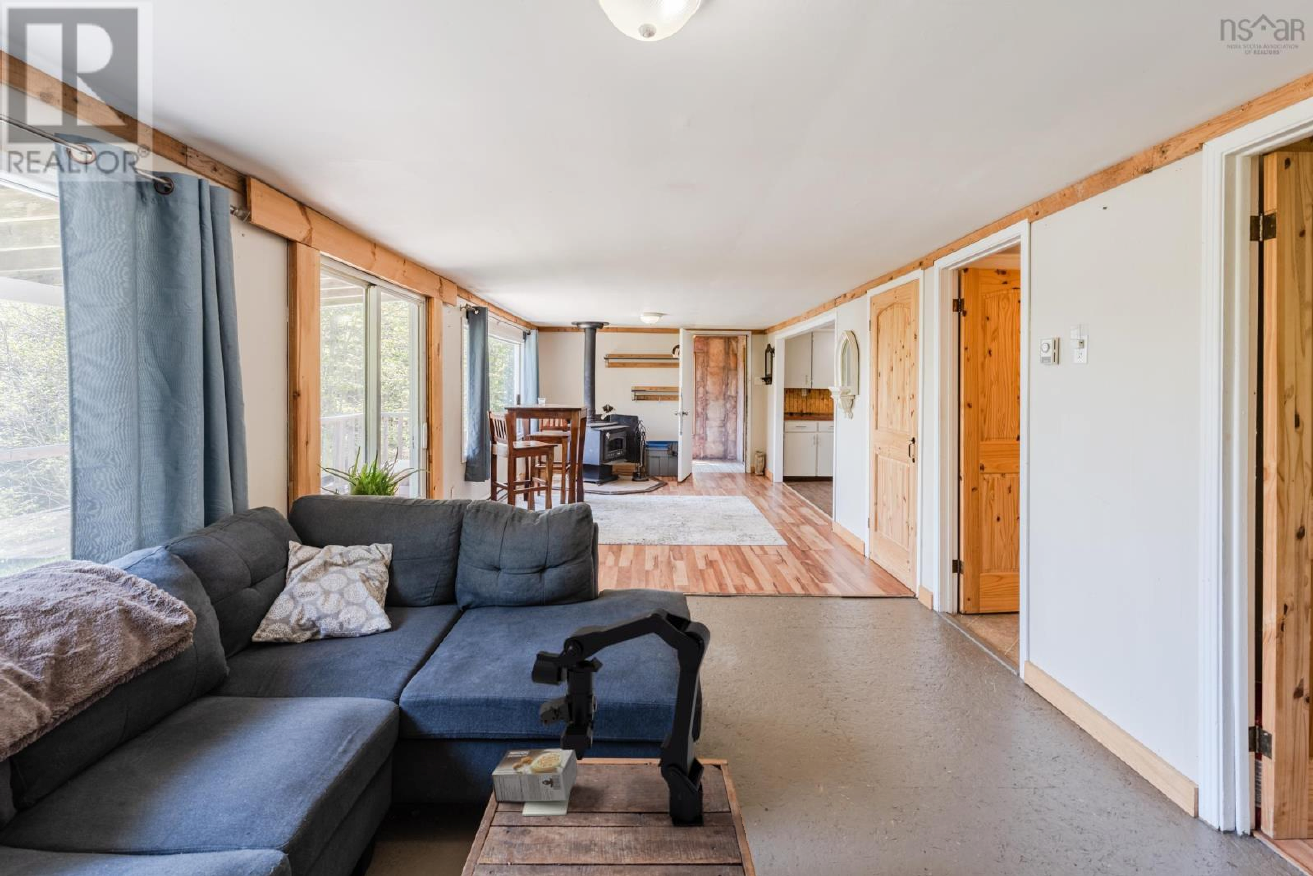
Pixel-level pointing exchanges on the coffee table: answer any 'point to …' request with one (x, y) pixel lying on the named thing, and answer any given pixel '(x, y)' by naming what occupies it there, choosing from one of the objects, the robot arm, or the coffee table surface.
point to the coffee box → (535, 775)
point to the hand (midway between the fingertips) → (579, 759)
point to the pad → (545, 808)
